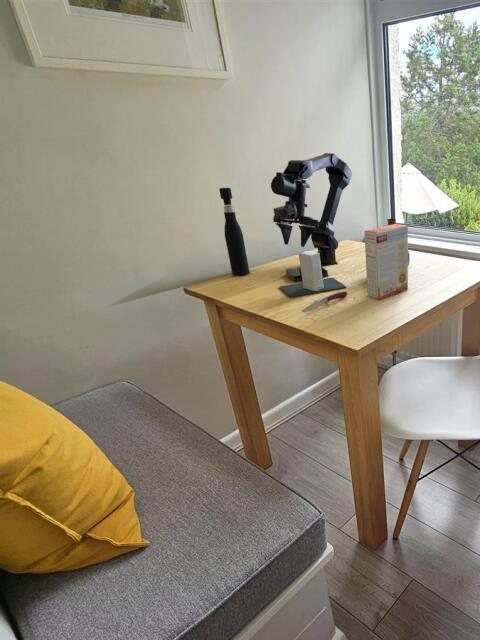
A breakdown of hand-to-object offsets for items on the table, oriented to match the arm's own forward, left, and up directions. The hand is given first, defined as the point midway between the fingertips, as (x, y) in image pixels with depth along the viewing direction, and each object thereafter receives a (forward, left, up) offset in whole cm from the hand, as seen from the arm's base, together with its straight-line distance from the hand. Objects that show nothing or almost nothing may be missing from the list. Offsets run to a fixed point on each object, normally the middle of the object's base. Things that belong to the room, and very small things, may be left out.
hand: (294, 245), depth 154 cm
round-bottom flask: (-30, +19, -11) cm, 37 cm away
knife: (+3, +35, -11) cm, 37 cm away
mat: (0, +17, -11) cm, 20 cm away
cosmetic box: (+1, +19, -11) cm, 22 cm away
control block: (-3, +2, -11) cm, 12 cm away
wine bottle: (+18, -14, -11) cm, 25 cm away
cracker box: (-20, +34, -11) cm, 41 cm away
